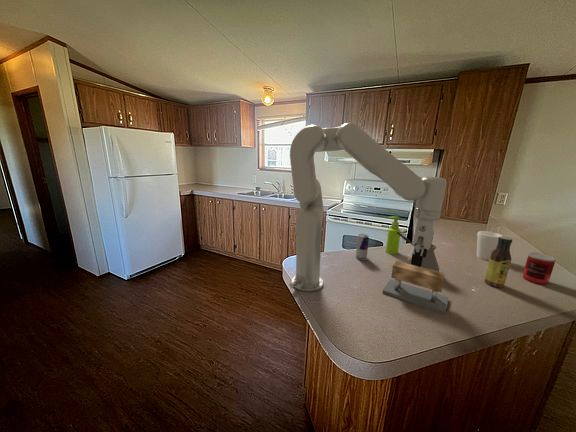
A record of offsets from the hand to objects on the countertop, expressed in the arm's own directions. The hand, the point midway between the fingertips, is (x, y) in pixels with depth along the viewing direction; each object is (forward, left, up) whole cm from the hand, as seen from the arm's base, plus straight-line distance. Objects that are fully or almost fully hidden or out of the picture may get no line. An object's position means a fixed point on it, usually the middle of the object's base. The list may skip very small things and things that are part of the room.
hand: (418, 260), depth 83 cm
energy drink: (+21, +28, -15) cm, 38 cm away
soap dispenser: (+38, +18, -15) cm, 44 cm away
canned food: (+45, -38, -15) cm, 61 cm away
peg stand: (0, 0, -14) cm, 14 cm away
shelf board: (0, 0, -8) cm, 8 cm away
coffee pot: (+25, +5, -15) cm, 29 cm away
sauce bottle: (+30, -24, -15) cm, 42 cm away
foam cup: (+61, -22, -15) cm, 67 cm away
